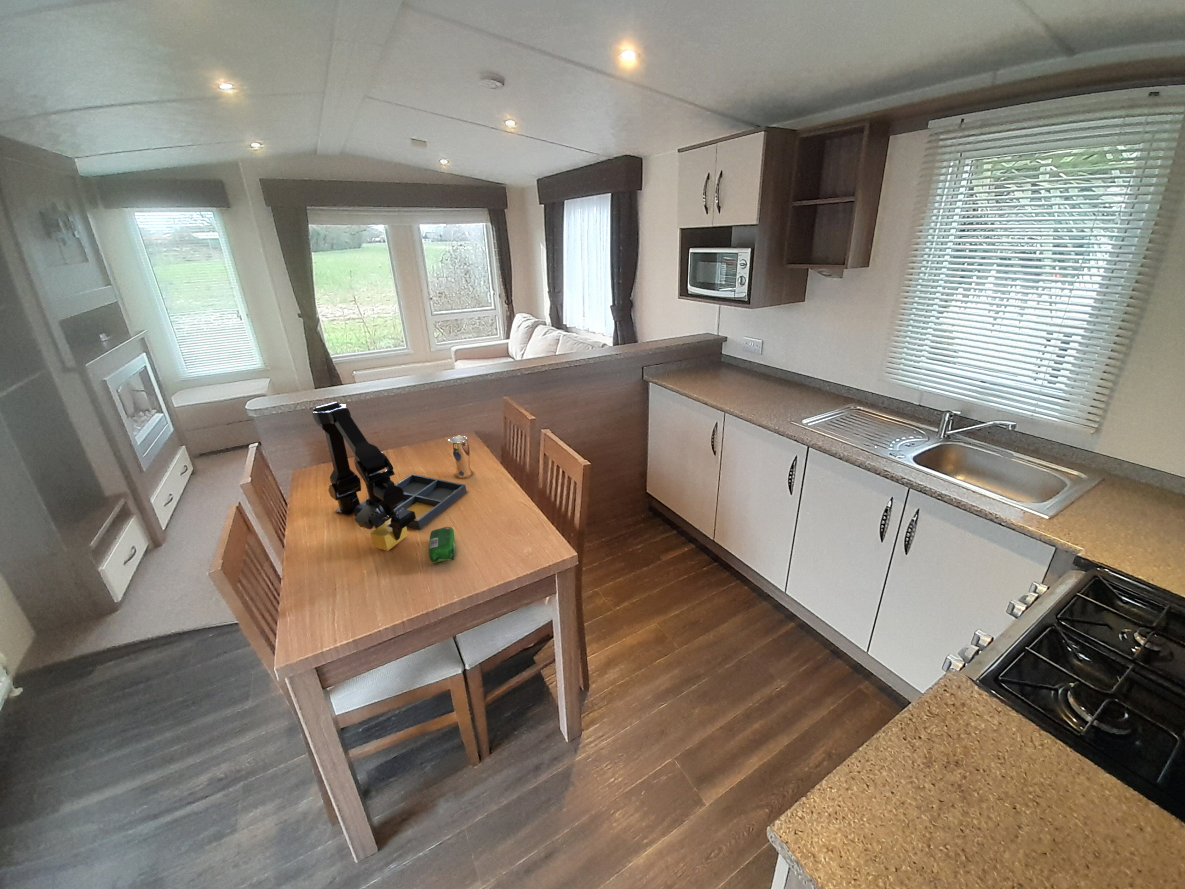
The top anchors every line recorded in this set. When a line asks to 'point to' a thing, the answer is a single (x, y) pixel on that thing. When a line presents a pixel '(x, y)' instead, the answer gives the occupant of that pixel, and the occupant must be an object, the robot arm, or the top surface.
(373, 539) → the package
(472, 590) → the top surface
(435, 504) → the tray
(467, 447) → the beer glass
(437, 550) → the snack package
